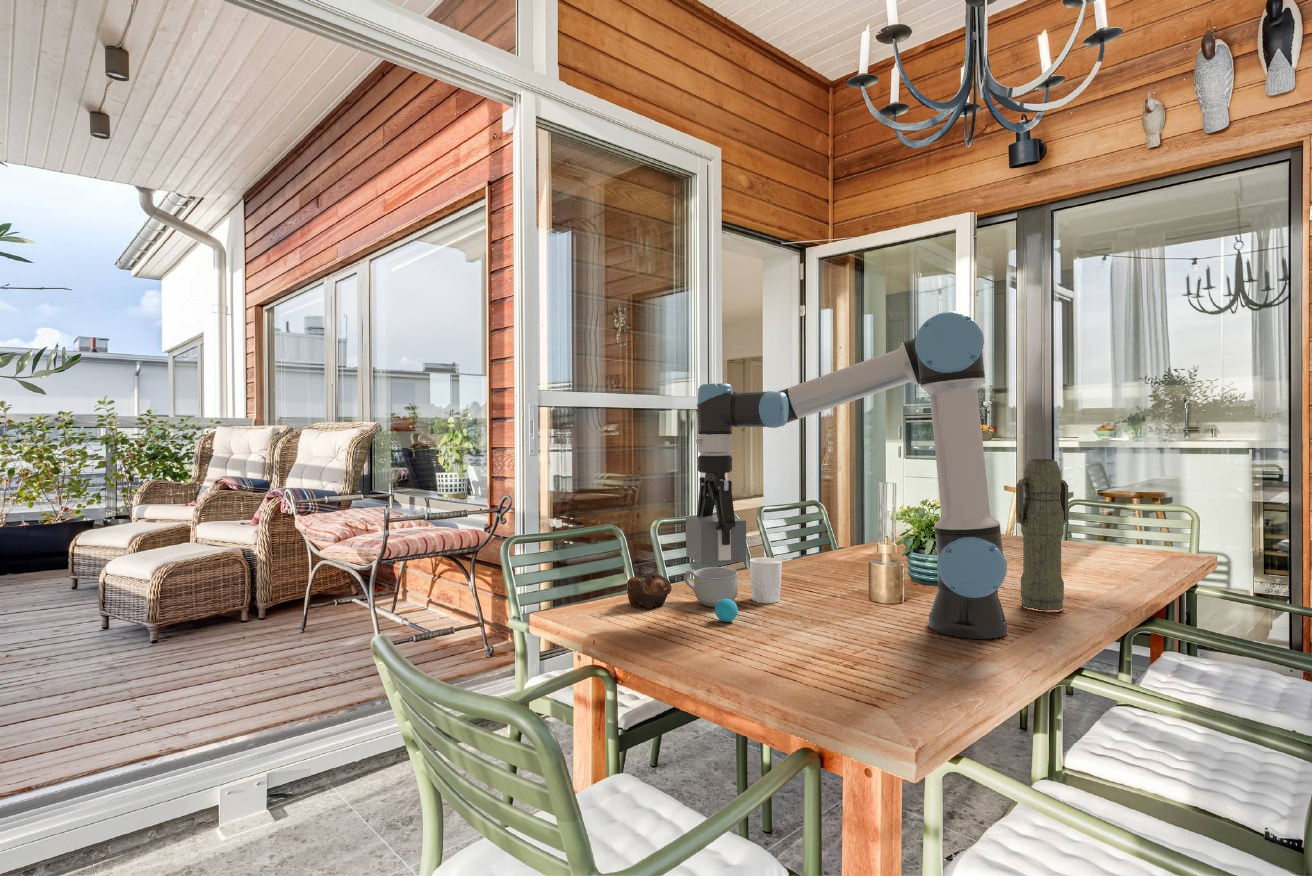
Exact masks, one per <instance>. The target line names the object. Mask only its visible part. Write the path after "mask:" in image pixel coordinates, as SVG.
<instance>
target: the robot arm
mask: <svg viewBox="0 0 1312 876" xmlns="http://www.w3.org/2000/svg"><path fill="white" fill-rule="evenodd" d="M984 344H985V338H984V334H983V330H982V329H981V327H980V326H979V323H978V322H976V321H975V320H974V319H973V318H972V317H971V316H969V315H968V314H965V313H963V312H958V311H944V312H940V313H937V314H935V315H933V316H931V317H930V318H928V319H927V320H926V321H924V322H923V324H922V325H921V326H920V328H919V329H918V330H917V334H916V336H915V337H914V338H911V339H909V340H907V341H903V342H901V344H900V346H899V347H898V349H895V350H893V351H889V352H887V353H884V354H880V355H878V356H875V357H872V358H870V359H866V360H863V361H861V362H858V363H855V364H853V365H849V366H847V367H844V368H841V369H838V370H835V371H833V372H830V373H826V374H824V375H821V376H818V377H816V378H813V379H810V380H807V381H804V382H800V383H797V384H795V385H793V386H790V387H787V388H784V389H781V390H779V391H774V390H773V391H771V390H769V391H768V390H767V391H751V392H750V391H748V392H736V391H734V390H733V387H732V385H731V384H729V383H702V384H701V385H699V387H698V390H697V403H696V409H697V439H695V443H696V444H697V452H698V453H699V454H700V455H698V456H697V471H698V472H699V473H700V474H701V473H703V474H705V475H704V476H700V477H699V479H698V480H699V491H698V492H699V493H698V500H697V512H696V516H714V515H713V514H714V510H715V511H716V512H715V513H716V516H717V518H718V523H719V526H717V528H716V529H717V530H718V560H719V561H720V560H731V529H732V527H735V517H736V516H735V511H734V510H735V509H734V499H733V486H732V485H733V484H732V483H733V482H732V480H727V479H726V474H729V473H731V472H732V471H733V457H732V455H730V454H731V453H733V428H741V427H742V428H770V429H771V428H773V429H775V428H776V429H777V428H779V427H784V426H785V425H787V424H788V423H791V422H795V421H797V420H799V419H800V420H801V419H803V418H805V417H809V416H811V415H815V414H818V413H820V412H821V413H822V412H823V411H826V410H827V411H828V410H830V409H833V408H835V407H836V408H837V407H838V406H842V405H844V404H845V405H846V404H847V403H851V402H853V401H857V400H860V399H863V398H865V397H869V396H871V395H872V396H873V395H875V394H878V393H881V392H883V391H887V390H890V389H893V388H897V387H898V386H902V385H905V384H909V383H911V384H913V385H915V386H918V385H920V388H921V389H923V390H924V391H925V392H926V393H928V396H929V403H930V412H931V420H932V430H933V431H932V433H933V442H934V451H935V463H936V471H937V482H938V490H939V491H938V492H939V503H940V510H941V512H940V513H941V517H940V518H939V519H938V520H937V521H936V523H935V524H934V535H935V545H936V553H937V554H936V555H937V563H936V567H937V570H936V571H937V591H936V595H935V597H934V601H933V604H932V607H931V611H930V612H929V614H928V626H929V628H930V629H931V630H933V631H935V632H937V633H940V634H942V635H947V636H950V637H951V636H952V637H957V638H963V639H974V640H991V639H992V638H994V639H998V637H1000V638H1003V637H1005V636H1007V635H1008V621H1007V619H1006V616H1005V614H1004V609H1003V608H1002V604H1001V600H1000V597H999V594H998V593H999V591H998V590H999V589H1000V587H1001V586H1002V585H1003V583H1004V582H1005V579H1006V577H1007V573H1008V564H1007V560H1006V558H1005V555H1004V552H1003V551H1004V550H1003V542H1002V532H1001V522H1000V521H999V520H997V519H996V518H995V517H994V516H992V514H991V510H990V502H989V501H990V500H989V489H988V481H987V469H986V462H985V461H986V460H985V452H984V451H985V450H984V441H983V431H982V422H981V412H980V411H981V410H980V403H979V402H980V401H979V393H978V391H979V388H980V386H981V385H983V383H984V382H985V381H986V377H985V376H986V375H985V366H984V365H985V364H984V356H983V349H984ZM1004 635H1005V636H1004ZM1002 636H1003V637H1002ZM992 640H993V639H992Z"/></svg>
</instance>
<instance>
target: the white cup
mask: <svg viewBox="0 0 1312 876" xmlns="http://www.w3.org/2000/svg"><path fill="white" fill-rule="evenodd" d="M749 569H750V570H749V571H750V573H749V574H750V588H751V599H752V601H753V602H755V601H756V602H755V603H758V604H777V603H779V602H780V600H781V589H782V588H781V587H782V575H783V574H782V569H783V560H782V559H779V558H776V557H764V556H763V557H762V556H761V557H753V558H750V559H749ZM776 602H777V603H776Z"/></svg>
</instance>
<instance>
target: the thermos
mask: <svg viewBox="0 0 1312 876" xmlns="http://www.w3.org/2000/svg"><path fill="white" fill-rule="evenodd" d="M1023 471H1024V472H1023V477H1022V478H1021V479H1019V480H1018V481H1017V483H1016V485H1015V489H1016V490H1015V491H1016V493H1015V496H1016V498H1015V503H1016V504H1015V507H1016V508H1015V509H1016V511H1015V515H1016V523H1017V524H1020V525H1021V526H1020V532H1021V535H1022V536H1023V537H1022V538H1023V539H1022V540H1023V541H1022V544H1023V547H1022V548H1023V549H1022V550H1023V551H1022V554H1023V555H1022V556H1023V557H1022V559H1023V560H1022V561H1023V563H1022V564H1023V567H1022V569H1023V571H1022V573H1021V577H1020V598H1021V604H1022V605H1023V606H1024V607H1027V608H1034V609H1038V610H1060V609H1062V608H1063V609H1064V606H1063V605H1064V602H1063V601H1064V600H1065V582H1064V580H1063V576H1062V538H1063V536H1064V533H1065V531H1064V530H1065V529H1064V526H1065V524H1066V523H1067V522H1068V521H1069V485H1068V483H1067V481H1066V480H1064V479H1062V478H1061V477H1062V475H1061V474H1062V473H1061V469H1060V466H1059V464H1058V461H1057V460H1056V461H1055V460H1054V459H1051V458H1031V459H1030V460H1027V462H1026V465H1025V468H1024V470H1023Z"/></svg>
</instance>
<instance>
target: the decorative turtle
mask: <svg viewBox="0 0 1312 876" xmlns="http://www.w3.org/2000/svg"><path fill="white" fill-rule="evenodd" d="M626 589H627V590H626V591H627V597H628V598H627V599H628V602H629V605H630V606H631V607H637V605H639V604H640V603H641V604H642V605H643V606H644V608H646V609H647V610H651V609H652V608H653V607H654V606H655V604H656V605H657V606H659V605H660V606H659V607H662V605H663V606H664V604H665V602H666V600H667V598H668V595H670V593H671V592H672V589H673V588H672V584H671V582H670V580H669V579H668V578H666V577H665V576H662V575H660V574H658V573H652V572H649V573H643V574H640V575H638V576H637V577H636V576H633V577H630V578H629V579H628V580H627V584H626Z"/></svg>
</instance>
